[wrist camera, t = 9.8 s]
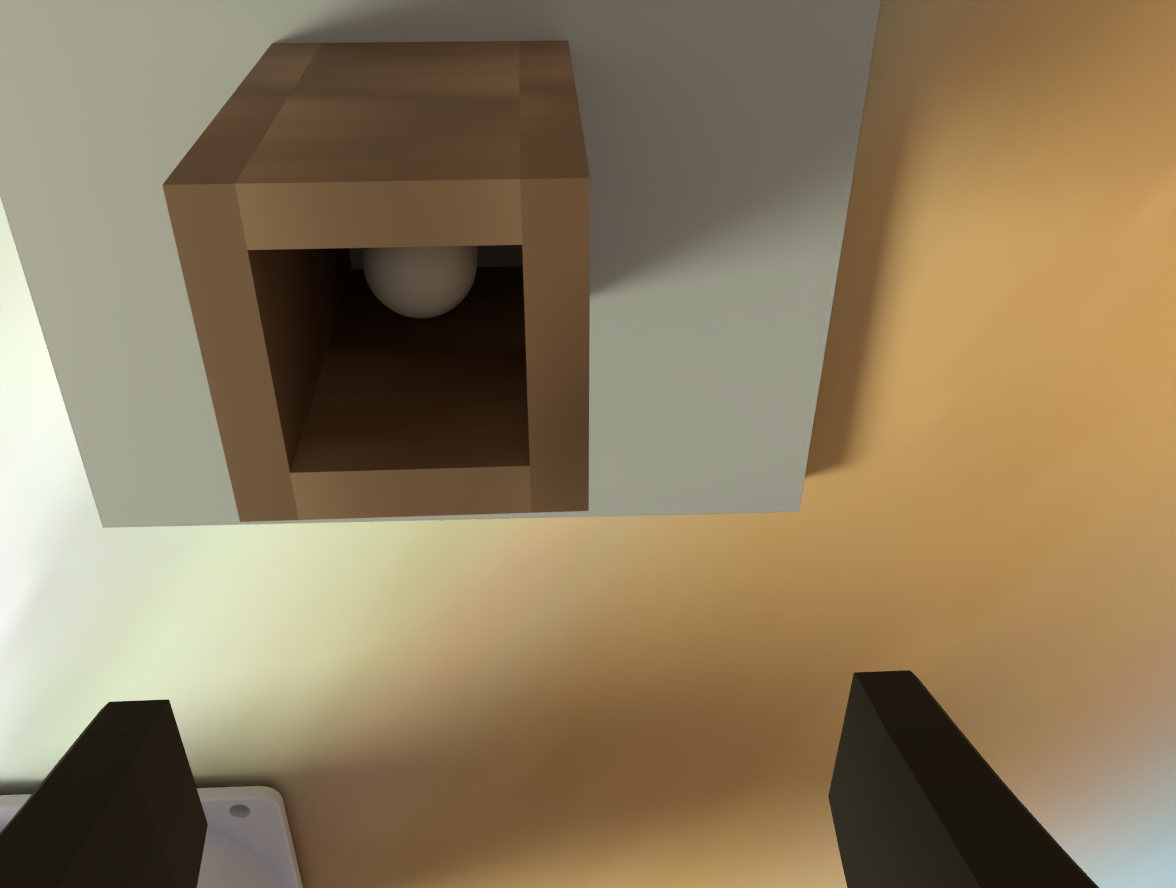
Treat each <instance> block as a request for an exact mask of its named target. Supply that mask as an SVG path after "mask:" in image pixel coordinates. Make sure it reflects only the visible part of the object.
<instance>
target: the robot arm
mask: <svg viewBox="0 0 1176 888" xmlns="http://www.w3.org/2000/svg"><path fill="white" fill-rule="evenodd" d="M829 801H830V806H831V811H832V816H833V821H834V826H835V831H836V836H837V841H838V846H839V851H840V855H841V860H842V865H843V869H844V874H845V878H846V883H847V887H848V888H1099V887H1098V886H1097V885H1096V884H1095V883H1094V882H1093V881H1092V880H1091V879H1090V878H1089V877H1088V876H1087V874H1086V873H1085V872H1084V871H1083V870H1082V869H1081V868H1080V867H1079V866H1078V865H1077V864H1076V863H1075V862H1074V861H1073V860H1072V859H1071V857H1070V856H1069V855H1068V854H1067V853H1066V852H1065V851H1064V850H1063V849H1062V848H1061V846H1060V845H1059V844H1058V843H1057V842H1056V841H1055V840H1054V839H1053V837H1052V836H1051V835H1050V834H1049V833H1048V832H1047V831H1046V830H1045V829H1044V827H1043V826H1042V825H1041V824H1040V823H1039V822H1038V821H1037V820H1036V819H1035V817H1034V816H1033V815H1032V814H1031V813H1030V812H1029V811H1028V810H1027V809H1026V807H1025V806H1024V805H1023V804H1022V803H1021V802H1020V801H1019V800H1018V798H1017V797H1016V796H1015V795H1014V794H1013V793H1012V791H1011V790H1010V789H1009V788H1008V787H1007V786H1006V784H1005V783H1004V782H1003V781H1002V780H1001V779H1000V777H999V776H998V775H997V774H996V773H995V772H994V770H993V769H992V768H991V767H990V766H989V764H988V763H987V762H986V761H985V760H984V758H983V757H982V756H981V755H980V754H979V752H978V751H977V750H976V749H975V748H974V746H973V745H972V744H971V743H970V742H969V740H968V739H967V738H966V737H965V736H964V734H963V733H962V732H961V731H960V729H959V728H958V727H957V726H956V725H955V723H954V722H953V721H952V720H951V718H950V717H949V716H948V715H947V713H946V712H945V711H944V710H943V708H942V707H941V706H940V705H939V704H938V702H937V701H936V700H935V699H934V697H933V696H932V695H931V694H930V692H929V691H928V690H927V689H926V687H925V686H924V685H923V684H922V682H921V681H920V680H919V679H918V678H917V677H916V676H915V675H914V674H913V673H912V672H911V671H884V672H859V673H854V675H853V680H852V685H851V690H850V695H849V699H848V704H847V709H846V714H845V719H844V724H843V729H842V733H841V738H840V743H839V748H838V753H837V758H836V763H835V767H834V772H833V777H832V782H831V787H830V792H829ZM0 888H303V885H302V881H301V876H300V872H299V868H298V863H297V859H296V855H295V850H294V846H293V842H292V837H291V833H290V829H289V824H288V820H287V816H286V811H285V807H284V803H283V798H282V796H281V795H280V793H279V792H277V791H276V790H275V789H273V788H270V787H267V786H243V787H215V788H196V785H195V782H194V778H193V775H192V772H191V769H190V766H189V762H188V759H187V756H186V753H185V750H184V746H183V743H182V740H181V737H180V734H179V730H178V727H177V724H176V721H175V718H174V714H173V711H172V708H171V705H170V702H169V700H146V701H121V702H109V703H108V704H107V705H106V706H105V707H103V708H102V709H101V710H100V712H99V713H98V714H97V715H96V717H95V718H94V719H93V720H92V721H91V723H90V724H89V725H88V726H87V727H86V729H85V730H84V731H83V732H82V734H81V735H80V736H79V737H78V739H77V740H76V741H75V742H74V744H73V745H72V746H71V747H70V748H69V750H68V751H67V752H66V753H65V755H64V756H63V757H62V758H61V760H60V761H59V762H58V763H57V764H56V766H55V767H54V768H53V769H52V771H51V772H50V773H49V774H48V776H47V777H46V778H45V779H44V780H43V782H42V783H41V784H40V785H39V787H38V788H37V789H36V790H35V791H34V793H33V794H19V795H0Z"/></svg>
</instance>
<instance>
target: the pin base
mask: <svg viewBox="0 0 1176 888" xmlns="http://www.w3.org/2000/svg"><path fill="white" fill-rule="evenodd" d="M880 5H881V0H0V197H1V200H2V203H3V207H4V210H5V213H6V216H7V219H8V223H9V226H10V229H11V232H12V236H13V239H14V242H15V245H16V249H17V252H18V255H19V258H20V261H21V265H22V268H23V271H24V274H25V278H26V281H27V284H28V287H29V290H30V294H31V297H32V300H33V303H34V307H35V310H36V313H37V316H38V320H39V323H40V326H41V329H42V332H43V336H44V339H45V342H46V345H47V349H48V352H49V355H50V358H51V361H52V365H53V368H54V371H55V374H56V378H57V381H58V384H59V387H60V391H61V394H62V397H63V400H64V403H65V407H66V410H67V413H68V416H69V420H70V423H71V426H72V429H73V433H74V436H75V439H76V442H77V445H78V449H79V452H80V455H81V458H82V462H83V465H84V468H85V471H86V474H87V478H88V481H89V484H90V487H91V491H92V494H93V497H94V500H95V504H96V507H97V510H98V513H99V516H100V520H101V523H102V526H103V528H105V527H150V526H194V525H239V524H283V523H328V522H372V521H417V520H461V519H506V518H550V517H595V516H639V515H684V514H728V513H773V512H799V509H800V503H801V497H802V491H803V484H804V478H805V472H806V466H807V460H808V453H809V447H810V441H811V435H812V428H813V422H814V416H815V410H816V403H817V397H818V391H819V385H820V379H821V372H822V366H823V360H824V354H825V347H826V341H827V335H828V329H829V322H830V316H831V310H832V304H833V298H834V291H835V285H836V279H837V273H838V266H839V260H840V254H841V248H842V241H843V235H844V229H845V223H846V216H847V210H848V204H849V198H850V192H851V185H852V179H853V173H854V167H855V160H856V154H857V148H858V142H859V135H860V129H861V123H862V117H863V111H864V104H865V98H866V92H867V86H868V79H869V73H870V67H871V61H872V54H873V48H874V42H875V36H876V30H877V23H878V17H879V11H880ZM565 40H568V44H569V50H570V56H571V62H572V68H573V74H574V81H575V87H576V93H577V99H578V105H579V111H580V118H581V124H582V130H583V136H584V142H585V148H586V155H587V161H588V167H589V173H590V337H589V511H573V512H541V513H509V514H477V515H445V516H413V517H381V518H349V519H317V520H285V521H253V522H240V520H239V515H238V511H237V507H236V502H235V498H234V494H233V489H232V485H231V481H230V476H229V472H228V468H227V463H226V459H225V455H224V450H223V446H222V442H221V437H220V433H219V429H218V424H217V420H216V416H215V411H214V407H213V403H212V398H211V394H210V390H209V385H208V381H207V377H206V372H205V368H204V364H203V359H202V355H201V351H200V346H199V342H198V338H197V333H196V329H195V325H194V320H193V316H192V312H191V307H190V303H189V299H188V294H187V290H186V286H185V281H184V277H183V273H182V268H181V264H180V260H179V255H178V251H177V247H176V242H175V238H174V234H173V229H172V225H171V221H170V216H169V212H168V208H167V203H166V199H165V195H164V190H163V186H162V185H163V183H164V182H165V181H166V179H167V178H168V177H169V176H170V174H171V173H172V172H173V170H174V169H175V168H176V167H177V165H178V164H179V163H180V161H181V160H182V159H183V157H184V156H185V155H186V154H187V152H188V151H189V150H190V148H191V147H192V146H193V145H194V143H195V142H196V141H197V139H198V138H199V137H200V136H201V134H202V133H203V132H204V130H205V129H206V128H207V127H208V125H209V124H210V123H211V121H212V120H213V119H214V117H215V116H216V115H217V114H218V112H219V111H220V110H221V108H222V107H223V106H224V105H225V103H226V102H227V101H228V99H229V98H230V97H231V96H232V94H233V93H234V92H235V90H236V89H237V88H238V87H239V85H240V84H241V83H242V81H243V80H244V79H245V77H246V76H247V75H248V74H249V72H250V71H251V70H252V68H253V67H254V66H255V65H256V63H257V62H258V61H259V59H260V58H261V57H262V56H263V54H264V53H265V52H266V50H267V49H268V48H269V47H270V45H271V44H272V43H363V42H464V41H565ZM349 252H350V259H351V267H352V270H356V269H364V274H365V278H366V281H367V283H368V285H369V287H370V289H371V290H372V292H373V293H374V295H375V296H376V297H377V298H378V300H379V301H380V302H381V303H383V304H384V305H385V306H386V307H388V308H389V309H391V310H392V311H394V312H396V313H398V314H401V315H403V316H407V317H412V318H431V317H436V316H439V315H442V314H444V313H446V312H448V311H450V310H452V309H453V308H454V307H456V306H457V305H458V304H459V303H460V302H461V301H462V300H463V299H464V298H465V297H466V295H467V294H468V292H469V291H470V289H471V287H472V285H473V282H474V279H475V275H476V270H477V267H506V266H523V251H522V245H484V246H432V247H379V248H349Z"/></svg>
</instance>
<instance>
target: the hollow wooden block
mask: <svg viewBox="0 0 1176 888" xmlns="http://www.w3.org/2000/svg"><path fill="white" fill-rule="evenodd" d="M162 186H163V190H164V195H165V199H166V203H167V208H168V212H169V216H170V221H171V225H172V229H173V234H174V238H175V242H176V247H177V251H178V255H179V260H180V264H181V268H182V273H183V277H184V281H185V286H186V290H187V294H188V299H189V303H190V307H191V312H192V316H193V320H194V325H195V329H196V333H197V338H198V342H199V346H200V351H201V355H202V359H203V364H204V368H205V372H206V377H207V381H208V385H209V390H210V394H211V398H212V403H213V407H214V411H215V416H216V420H217V424H218V429H219V433H220V437H221V442H222V446H223V450H224V455H225V459H226V463H227V468H228V472H229V476H230V481H231V485H232V489H233V494H234V498H235V502H236V507H237V511H238V515H239V520H240V522H253V521H285V520H317V519H349V518H381V517H413V516H445V515H477V514H509V513H541V512H573V511H589V337H590V173H589V167H588V161H587V155H586V148H585V142H584V136H583V130H582V124H581V118H580V111H579V105H578V99H577V93H576V87H575V81H574V74H573V68H572V62H571V56H570V50H569V44H568V40H565V41H464V42H363V43H272V44H271V45H270V47H269V48H268V49H267V50H266V52H265V53H264V54H263V56H262V57H261V58H260V59H259V61H258V62H257V63H256V65H255V66H254V67H253V68H252V70H251V71H250V72H249V74H248V75H247V76H246V77H245V79H244V80H243V81H242V83H241V84H240V85H239V87H238V88H237V89H236V90H235V92H234V93H233V94H232V96H231V97H230V98H229V99H228V101H227V102H226V103H225V105H224V106H223V107H222V108H221V110H220V111H219V112H218V114H217V115H216V116H215V117H214V119H213V120H212V121H211V123H210V124H209V125H208V127H207V128H206V129H205V130H204V132H203V133H202V134H201V136H200V137H199V138H198V139H197V141H196V142H195V143H194V145H193V146H192V147H191V148H190V150H189V151H188V152H187V154H186V155H185V156H184V157H183V159H182V160H181V161H180V163H179V164H178V165H177V167H176V168H175V169H174V170H173V172H172V173H171V174H170V176H169V177H168V178H167V179H166V181H165V182H164V183H163V185H162ZM484 245H522V251H523V266H506V267H477V270H476V275H475V279H474V282H473V285H472V287H471V289H470V291H469V292H468V294H467V295H466V297H465V298H464V299H463V300H462V301H461V302H460V303H459V304H458V305H457V306H456V307H454V308H453V309H452V310H450V311H448V312H446V313H444V314H442V315H439V316H436V317H431V318H412V317H407V316H403V315H401V314H398V313H396V312H394V311H392V310H391V309H389V308H388V307H386V306H385V305H384V304H383V303H381V302H380V301H379V300H378V298H377V297H376V296H375V295H374V293H373V292H372V290H371V289H370V287H369V285H368V283H367V281H366V278H365V274H364V269H356V270H352V267H351V259H350V252H349V248H379V247H432V246H484Z"/></svg>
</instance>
